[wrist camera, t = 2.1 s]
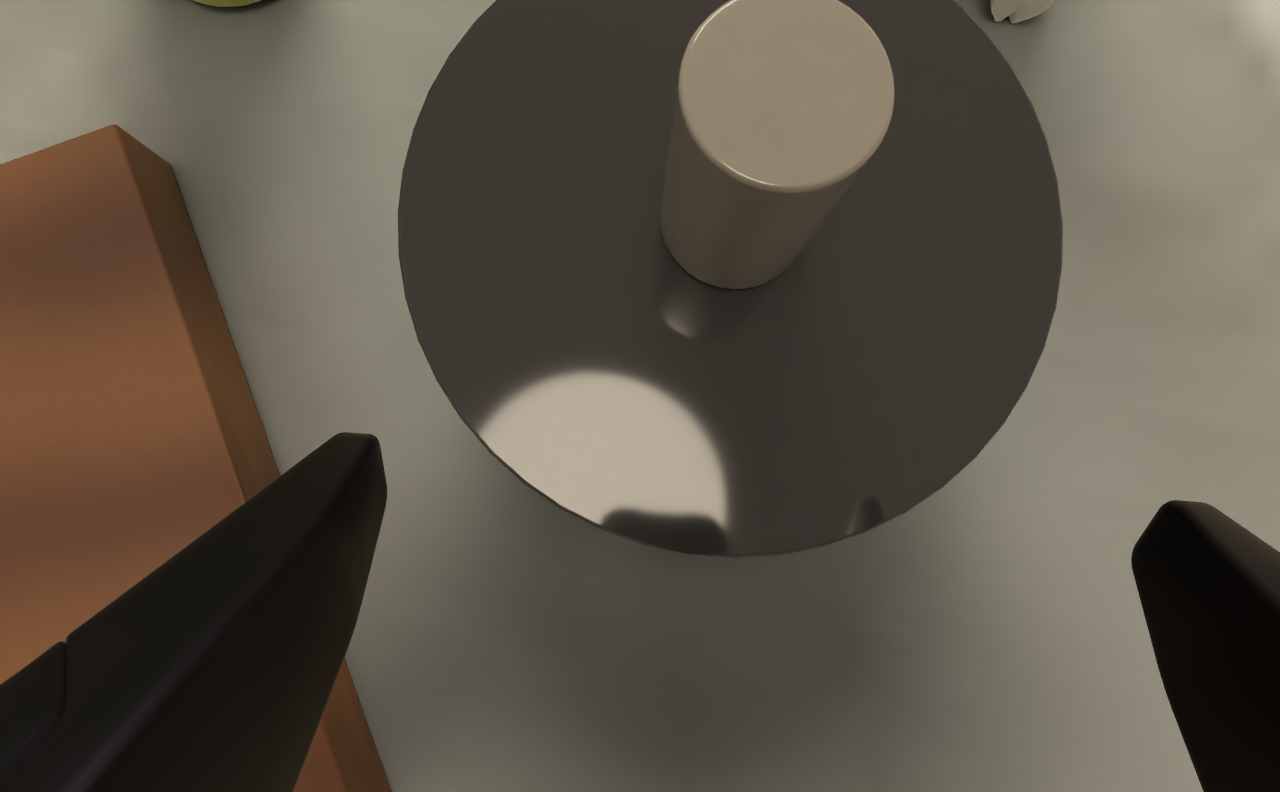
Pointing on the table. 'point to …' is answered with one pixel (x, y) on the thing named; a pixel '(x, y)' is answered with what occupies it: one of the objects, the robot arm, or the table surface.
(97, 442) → the board
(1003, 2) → the sitting furry creature
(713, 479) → the lid
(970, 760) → the table surface
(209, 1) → the tube
